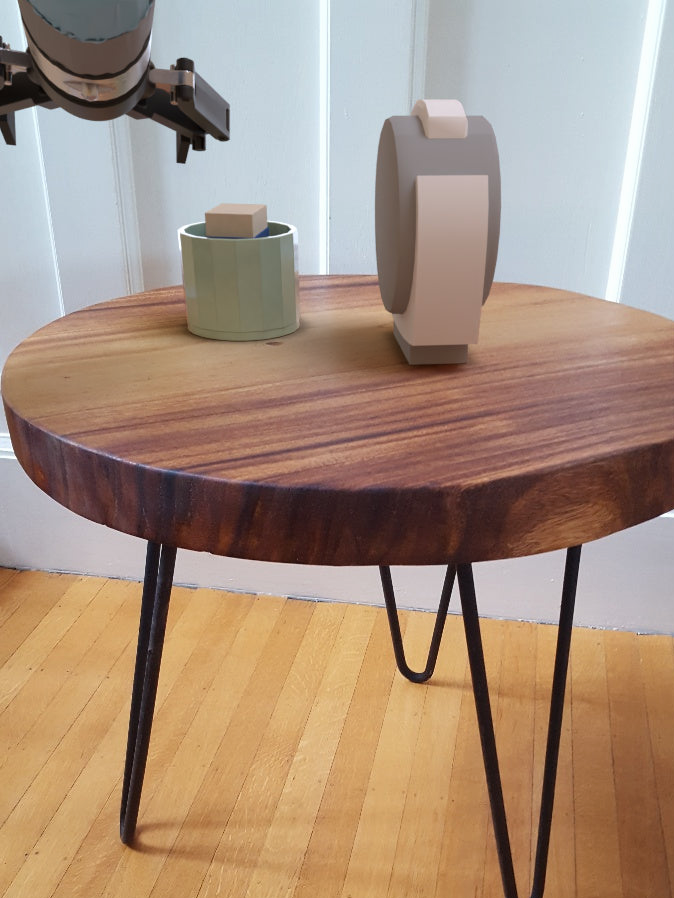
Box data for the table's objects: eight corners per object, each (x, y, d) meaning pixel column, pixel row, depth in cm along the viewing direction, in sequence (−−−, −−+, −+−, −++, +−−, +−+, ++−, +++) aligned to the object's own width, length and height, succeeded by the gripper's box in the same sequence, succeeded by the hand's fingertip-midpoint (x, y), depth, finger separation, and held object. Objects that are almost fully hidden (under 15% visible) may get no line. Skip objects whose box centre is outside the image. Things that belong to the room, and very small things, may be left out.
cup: (173, 338, 92) (162, 237, 87) (205, 310, 101) (197, 217, 96) (287, 343, 91) (283, 241, 86) (308, 314, 100) (306, 221, 95)
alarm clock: (493, 375, 83) (513, 107, 72) (396, 377, 82) (402, 106, 71) (453, 322, 98) (465, 93, 87) (371, 324, 97) (373, 93, 86)
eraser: (212, 324, 93) (203, 212, 88) (228, 309, 99) (220, 203, 93) (259, 326, 93) (252, 214, 87) (272, 311, 98) (267, 204, 93)
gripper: (-127, 78, 57) (-62, 169, 77) (286, 128, 63) (247, 200, 83) (-137, -66, 55) (-69, 66, 75) (288, 0, 62) (247, 105, 82)
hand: (97, 136), depth 79 cm, fingers open, 13 cm apart
